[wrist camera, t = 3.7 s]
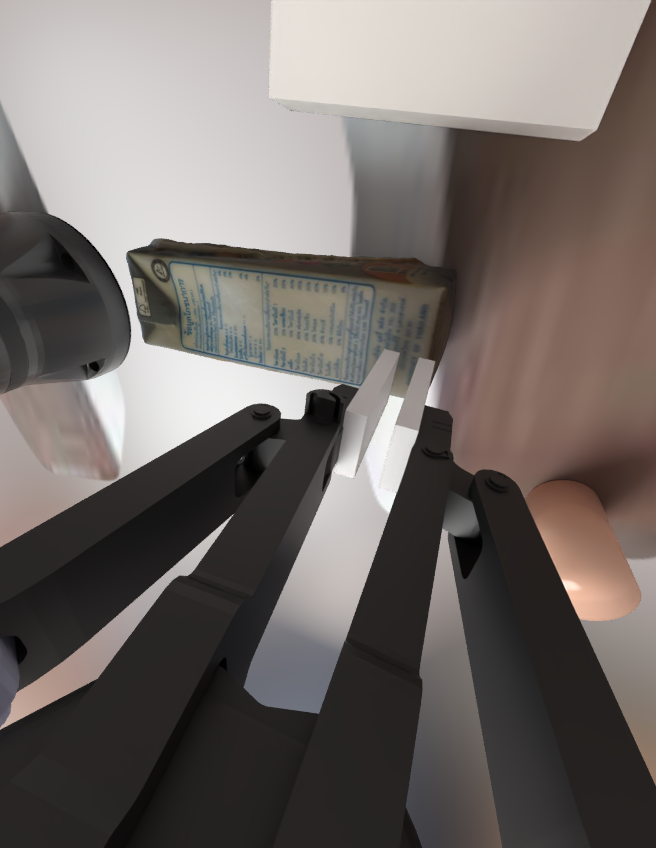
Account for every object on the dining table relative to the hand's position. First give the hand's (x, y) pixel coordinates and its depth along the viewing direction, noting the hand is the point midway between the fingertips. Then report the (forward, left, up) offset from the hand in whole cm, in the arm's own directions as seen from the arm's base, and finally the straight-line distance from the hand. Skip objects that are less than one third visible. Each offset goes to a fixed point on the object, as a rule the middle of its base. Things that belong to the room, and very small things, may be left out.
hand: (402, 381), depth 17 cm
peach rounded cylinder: (+14, -11, -9) cm, 20 cm away
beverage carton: (+1, 0, -11) cm, 11 cm away
